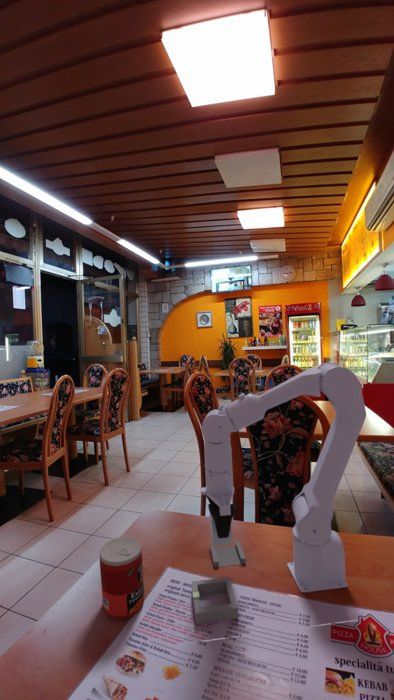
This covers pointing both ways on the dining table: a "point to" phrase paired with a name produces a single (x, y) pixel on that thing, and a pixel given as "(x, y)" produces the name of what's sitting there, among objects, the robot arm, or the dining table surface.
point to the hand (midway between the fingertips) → (221, 530)
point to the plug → (214, 536)
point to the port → (214, 611)
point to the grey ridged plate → (228, 555)
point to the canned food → (122, 577)
